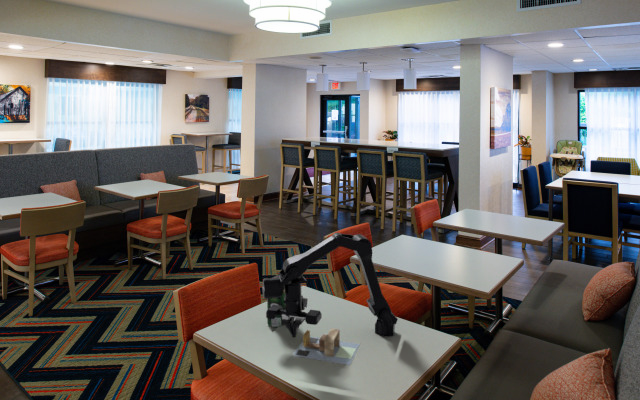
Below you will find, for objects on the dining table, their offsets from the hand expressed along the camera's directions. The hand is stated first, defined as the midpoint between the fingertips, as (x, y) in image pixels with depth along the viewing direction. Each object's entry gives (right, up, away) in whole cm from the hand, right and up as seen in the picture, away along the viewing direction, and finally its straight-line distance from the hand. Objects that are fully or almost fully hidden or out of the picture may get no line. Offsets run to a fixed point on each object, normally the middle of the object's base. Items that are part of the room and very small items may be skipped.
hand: (294, 337), depth 159 cm
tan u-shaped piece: (+9, -3, -2) cm, 9 cm away
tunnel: (+13, -3, -4) cm, 14 cm away
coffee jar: (-7, -1, +20) cm, 21 cm away
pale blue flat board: (+11, -4, -3) cm, 13 cm away
